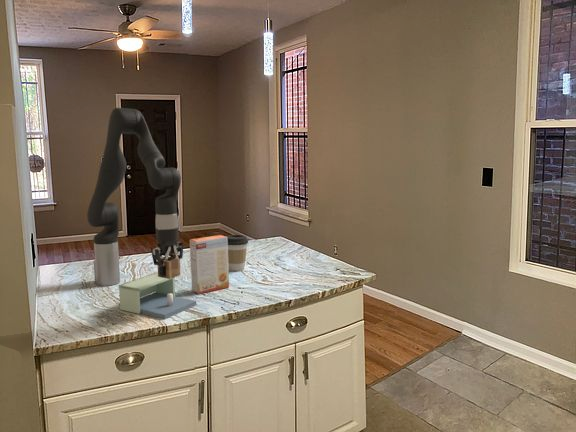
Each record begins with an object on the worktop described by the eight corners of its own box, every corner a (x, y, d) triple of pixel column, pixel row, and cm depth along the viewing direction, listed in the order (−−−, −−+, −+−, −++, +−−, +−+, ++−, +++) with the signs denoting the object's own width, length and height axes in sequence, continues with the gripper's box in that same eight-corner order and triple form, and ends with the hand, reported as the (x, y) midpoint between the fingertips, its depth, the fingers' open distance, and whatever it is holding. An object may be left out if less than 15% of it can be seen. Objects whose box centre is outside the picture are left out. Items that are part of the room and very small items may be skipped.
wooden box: (158, 276, 175) (157, 259, 174) (168, 272, 179) (168, 256, 178) (169, 278, 172) (169, 261, 171) (180, 275, 177) (179, 258, 176)
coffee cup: (250, 266, 234) (250, 234, 231) (246, 272, 223) (246, 239, 220) (226, 265, 235) (226, 233, 232) (221, 272, 224) (220, 239, 221)
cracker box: (222, 284, 207) (220, 234, 203) (229, 287, 202) (228, 236, 198) (190, 290, 198) (189, 238, 195) (197, 294, 194) (196, 241, 190)
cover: (120, 309, 177) (118, 285, 176) (157, 294, 193) (156, 272, 191) (138, 313, 173) (137, 289, 171) (175, 298, 188) (174, 275, 187)
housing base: (122, 308, 178) (121, 293, 177) (155, 296, 192) (154, 282, 191) (165, 319, 168) (164, 303, 168) (196, 304, 182) (195, 290, 181)
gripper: (173, 222, 181) (175, 268, 184) (143, 228, 168) (146, 277, 171) (189, 223, 177) (191, 270, 180) (160, 231, 165) (162, 281, 168)
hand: (169, 273), depth 176 cm, fingers closed on wooden box, 5 cm apart
